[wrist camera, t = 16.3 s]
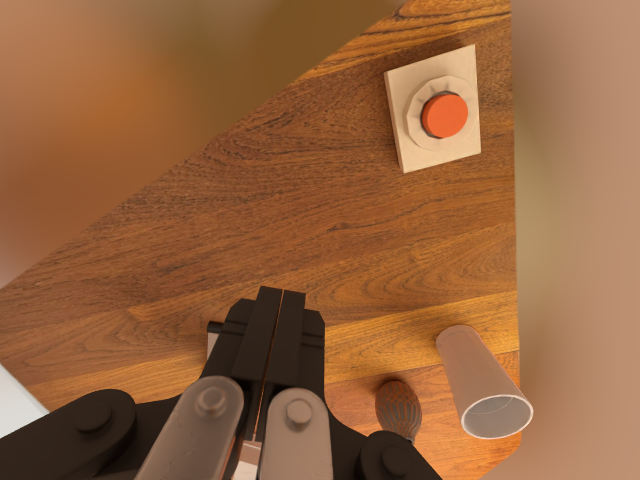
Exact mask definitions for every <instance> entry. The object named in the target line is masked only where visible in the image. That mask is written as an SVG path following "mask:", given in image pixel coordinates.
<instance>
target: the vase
mask: <svg viewBox="0 0 640 480" xmlns="http://www.w3.org/2000/svg"><path fill="white" fill-rule="evenodd" d="M375 409H376V415H377V418H378V421H379V423H380V425H381V427H382V428H383V430H386V431H391V432H395V433H397V434H399V435H401V436H402V437H404V438H405V439H406V440H408V441H409V442H410V443H411V444H412V445H414V441H415V437H416V435H417V433H418V431H419V428H420V426H421V421H422V411H421V406H420V403H419V400H418V398H417V396H416V394H415V393H414V391H413V390H412V389H411V388H410V387H409V386H408V385H406V384H404V383H402V382H399V381H390V382H387V383H385V384H384V385H383V386H382V387H381V388H380V389H379V391H378V393H377V395H376V400H375Z"/></svg>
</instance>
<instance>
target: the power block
mask: <svg viewBox="0 0 640 480" xmlns="http://www.w3.org/2000/svg"><path fill="white" fill-rule="evenodd" d="M383 74H384V80H385V85H386V91H387V97H388V103H389V109H390V115H391V120H392V126H393V132H394V138H395V144H396V149H397V155H398V161H399V167H400V169H401V170H402V171H403V172H404V173H407V172H411V171H414V170H418V169H422V168H426V167H429V166H433V165H437V164H441V163H444V162H448V161H452V160H456V159H459V158H463V157H467V156H470V155H474V154H478V153H481V147H480V130H479V110H478V94H477V76H476V58H475V44H472V45H469V46H466V47H463V48H459V49H456V50H453V51H450V52H447V53H444V54H440V55H437V56H434V57H431V58H428V59H425V60H421V61H418V62H415V63H412V64H409V65H406V66H402V67H399V68H396V69H393V70H390V71H387V72H384V73H383ZM442 94H451V95H457V96H459V97H461V98H462V99H463V100H464V101H465V102H466V104H467V107H468V117H467V121H466V123H465V125H464V126H463V128H462V129H461V130H460V131H459V132H458V133H457V134H455V135H453V136H451V137H446V138H441V137H438V136H435V135H433V134H431V133H429V132H428V131H427V130H426V129H425V128H424V126H423V123H422V114H423V110H424V108H425V106H426V105H427V103H428V102H429V101H430V100H431V99H432V98H434V97H436V96H438V95H442Z"/></svg>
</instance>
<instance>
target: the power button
mask: <svg viewBox="0 0 640 480" xmlns="http://www.w3.org/2000/svg"><path fill="white" fill-rule="evenodd" d="M467 117H468V107H467V104H466V102H465V101H464V100H463V99H462V98H461V97H459V96H457V95H451V94H442V95H438V96H436V97H434V98H432V99H431V100H430V101H429V102H428V103H427V105H426V106H425V108H424V110H423V114H422V123H423V126H424V128H425V129H426V130H427V131H428V132H429V133H431V134H433V135H435V136H438V137H441V138H446V137H451V136H453V135H455V134H457V133H458V132H459V131H460V130H461V129H462V128H463V126H464V125H465V123H466V121H467Z"/></svg>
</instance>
